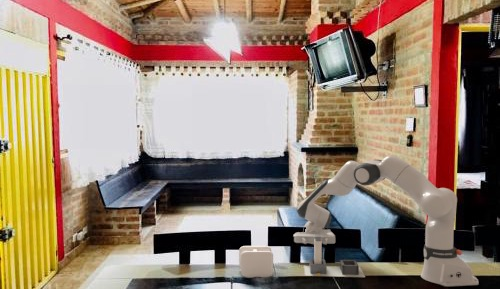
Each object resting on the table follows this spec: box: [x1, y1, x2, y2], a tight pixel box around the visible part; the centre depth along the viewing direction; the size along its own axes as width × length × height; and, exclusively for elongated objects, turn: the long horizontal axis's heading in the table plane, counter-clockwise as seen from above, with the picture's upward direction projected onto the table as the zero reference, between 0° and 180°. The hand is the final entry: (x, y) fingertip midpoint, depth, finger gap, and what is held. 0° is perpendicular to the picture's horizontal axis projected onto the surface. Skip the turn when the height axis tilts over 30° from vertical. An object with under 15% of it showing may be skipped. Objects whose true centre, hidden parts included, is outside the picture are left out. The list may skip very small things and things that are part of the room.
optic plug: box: [313, 235, 323, 264], centre depth 186 cm, size 3×4×16 cm
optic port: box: [308, 258, 327, 274], centre depth 186 cm, size 7×8×4 cm
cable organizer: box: [238, 245, 274, 279], centre depth 185 cm, size 15×11×12 cm
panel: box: [303, 259, 366, 278], centre depth 186 cm, size 26×13×5 cm, turn 85°
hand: (315, 242), depth 197 cm, fingers open, 8 cm apart
